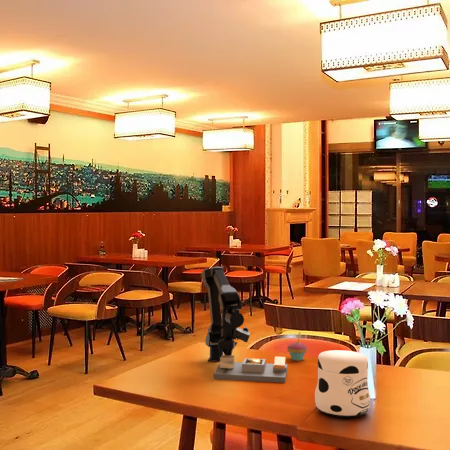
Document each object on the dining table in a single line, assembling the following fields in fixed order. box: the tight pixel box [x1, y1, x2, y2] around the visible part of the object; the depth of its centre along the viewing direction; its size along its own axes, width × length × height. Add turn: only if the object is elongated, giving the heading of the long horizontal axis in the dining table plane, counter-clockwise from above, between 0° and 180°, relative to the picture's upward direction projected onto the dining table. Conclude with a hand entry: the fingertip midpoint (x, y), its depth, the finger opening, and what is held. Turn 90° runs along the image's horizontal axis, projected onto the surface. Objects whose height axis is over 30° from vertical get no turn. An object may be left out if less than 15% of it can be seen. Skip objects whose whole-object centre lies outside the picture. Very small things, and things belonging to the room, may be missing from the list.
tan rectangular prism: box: [219, 354, 235, 368], centre depth 230 cm, size 4×5×4 cm
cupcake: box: [286, 331, 308, 362], centre depth 250 cm, size 9×8×12 cm
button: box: [248, 358, 261, 364], centre depth 228 cm, size 5×5×3 cm
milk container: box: [314, 349, 371, 419], centre depth 187 cm, size 17×17×18 cm
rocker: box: [273, 356, 286, 369], centre depth 227 cm, size 7×4×1 cm, turn 171°
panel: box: [212, 357, 288, 384], centre depth 228 cm, size 18×27×5 cm, turn 81°
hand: (228, 361), depth 233 cm, fingers closed
